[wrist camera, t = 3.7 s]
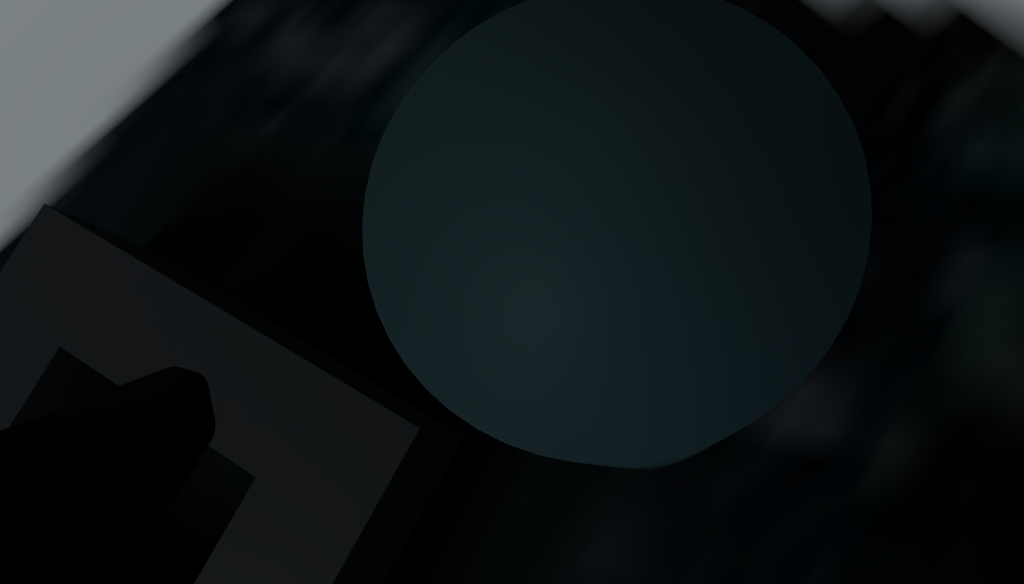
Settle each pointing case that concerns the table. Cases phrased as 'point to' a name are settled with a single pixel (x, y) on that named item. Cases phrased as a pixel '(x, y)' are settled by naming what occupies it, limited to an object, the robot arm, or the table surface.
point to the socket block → (225, 402)
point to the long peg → (617, 226)
